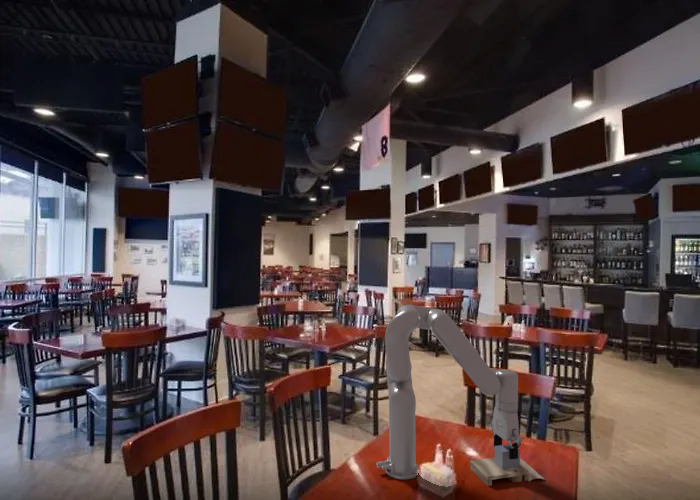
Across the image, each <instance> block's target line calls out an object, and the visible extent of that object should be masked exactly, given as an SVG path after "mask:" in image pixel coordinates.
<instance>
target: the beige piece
mask: <svg viewBox="0 0 700 500" xmlns="http://www.w3.org/2000/svg"><path fill="white" fill-rule="evenodd" d="M520 465H522V466H523V467H524V468H526V469H527V470H528V471H529V479H528V480H527V481H528V482H529V483H531V481H532V480H536V479H541V480H542V481H546V479H545V478H544V477H543V476H542V475H541V474H540V473H538V472H537V471H536V470H535V469H534V468H533V467H532V466H530V465H529V464H528V463H527V462H526V461H525V460H524V459H522V458H521V457H520Z"/></svg>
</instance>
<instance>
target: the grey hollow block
mask: <svg viewBox="0 0 700 500" xmlns="http://www.w3.org/2000/svg"><path fill="white" fill-rule="evenodd" d="M509 447H510V444H509V443H508V444H502V445H499V446H495V447H494V458H495V463H496V464H497V465H498V466H499V467H501V468H502V469H507V468H514V467H520V458H521V450H520V448H518V459H509Z"/></svg>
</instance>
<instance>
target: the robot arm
mask: <svg viewBox="0 0 700 500" xmlns="http://www.w3.org/2000/svg"><path fill="white" fill-rule="evenodd" d="M416 329H422V330H429V331H431V333H432V334H433V335H434V336H435V337H436V339H437V340H438V341H439V343H440V344H441V345H442V346H443V347H444V349H445V350H446V351H447V352H448V354H449V355H450V356H451V357H452V358H453V360H454V361H455V362H456V363H457V364H458V365H459V367H461V369H463V371H464V373H466V374H467V376H468V377H469V378H470V379H471V381H472V382H473V383H474V384H475V386H476V387H477V389H479V391H480V392H481V393H482V394H483V395H485V396H489V397H493V396H495V405H494V408H493V414H492V415H493V416H492V420H491V426H492V427H491V430H492V431H493V433H492V434H493V447H494V448H495V446H499V445H503V440H504V441H505V442H508V444H510V447H509V459H518V449H520V447H521V444H522V441H523V438H522V437H521V436H520V430H519V427H520V426H519V425H520V424H519V416H518V405H519V404H518V401H519V399H518V397H519V393H518V392H519V374H518V373H517V372H516V371H514V370H511V369H506V368H503V369H495V368H491V367H490V366H489V365H488V364H487V363H486V361H485V359H483V357H482V356H481V354H479V352H478V351H477V350H476V348H475V346H474V345H473V344H472V343H471V341H470V340H469V339H468V337H467V336H466V335H465V333H464V332H462V330H461V329H460V327H459V326H458V325H457V324H456V323H455V321H454V320H453V319H452V317H450V315H449V314H447V312H445V310H442V309H438V308H434V307H427V306H419V305H414V304H404V305H401V306H400V307H399V308H398V309H397V311H396V315H395V316H394V317H393V318H392V319H391V320H390V321H389V323H388V324H387V326H386V329H385V335H384V344H385V355H386V356H385V372H386V373H385V374H386V381H387V393H388V395H387V397H388V432H389V433H388V438H389V440H388V447H389V448H388V449H389V451H388V454H389V455H388V456H386V459H385V460H384V461H381V460H380V461H376V464H375V465H376V468H381V469H382V470H385V473H386V474H387V475H388V476H389V477H391V478H394V479H396V480H405V481H406V480H412V479H415V478H417V477H416V475H417V470H418V467H419V468H420V466H419V465H418V464H417V463H416V462H417V461H416V408H417V404H416V403H417V401H416V394H415V391H414V387H413V378H412V377H413V376H412V369H413V367H412V361H411V357H410V345H409V339H410V338H409V337H410V335H411V333H412V332H414V331H415V330H416Z"/></svg>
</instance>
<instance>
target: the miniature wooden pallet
mask: <svg viewBox="0 0 700 500" xmlns="http://www.w3.org/2000/svg"><path fill="white" fill-rule="evenodd" d="M469 470H470V471H471V472H472V473H473V474H475V475H476V477H477V478H479V479H480V481H481V482H482V483H484V484H485V485H486V486H487V487H491V486H493V480H498V479H500V480H501V479H506V478H507V479H508V480H510V481H511V482H512V483H518V482H519V483H520V482H522V481H528V479H529V471H528V470H527V469H526V468H524V467H523V466H522V465H520V467H514V468H507V469H502V468H501V467H499V466H498V465H497V464H496V463H495V457H487V458H483V459H482V458H481V459H473V460H470V461H469Z"/></svg>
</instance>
